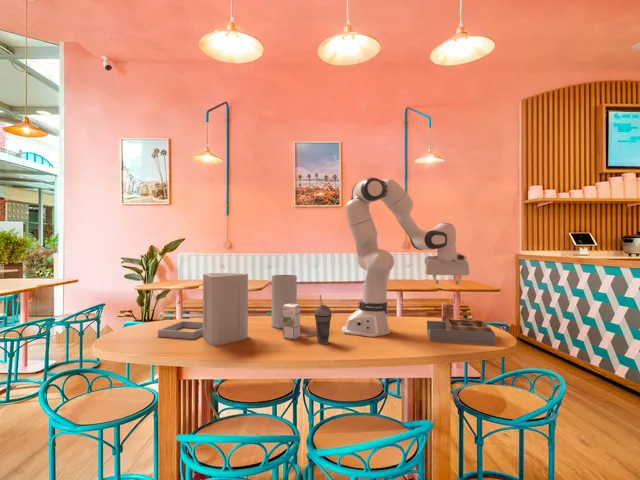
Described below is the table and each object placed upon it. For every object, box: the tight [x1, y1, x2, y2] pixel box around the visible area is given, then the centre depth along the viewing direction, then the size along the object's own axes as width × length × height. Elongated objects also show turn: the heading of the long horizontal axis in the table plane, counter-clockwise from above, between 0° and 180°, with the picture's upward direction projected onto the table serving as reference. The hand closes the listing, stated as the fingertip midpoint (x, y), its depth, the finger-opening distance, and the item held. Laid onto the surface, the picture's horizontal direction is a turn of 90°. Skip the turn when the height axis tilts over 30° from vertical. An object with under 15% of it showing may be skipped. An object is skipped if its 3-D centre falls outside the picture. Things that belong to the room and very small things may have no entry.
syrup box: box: [282, 303, 301, 340], centre depth 152 cm, size 6×6×14 cm
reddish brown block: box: [441, 302, 453, 321], centre depth 169 cm, size 4×4×12 cm
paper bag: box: [202, 272, 249, 346], centre depth 148 cm, size 19×15×28 cm
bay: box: [426, 320, 496, 346], centre depth 153 cm, size 26×17×5 cm
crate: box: [446, 318, 492, 332], centre depth 152 cm, size 16×14×5 cm
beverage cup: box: [314, 294, 333, 345], centre depth 145 cm, size 7×7×20 cm
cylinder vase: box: [271, 274, 298, 329], centre depth 173 cm, size 12×12×25 cm
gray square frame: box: [157, 320, 203, 340], centre depth 159 cm, size 18×18×3 cm
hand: (446, 284), depth 169 cm, fingers open, 8 cm apart
